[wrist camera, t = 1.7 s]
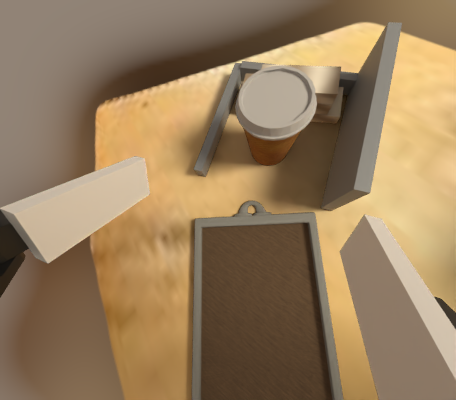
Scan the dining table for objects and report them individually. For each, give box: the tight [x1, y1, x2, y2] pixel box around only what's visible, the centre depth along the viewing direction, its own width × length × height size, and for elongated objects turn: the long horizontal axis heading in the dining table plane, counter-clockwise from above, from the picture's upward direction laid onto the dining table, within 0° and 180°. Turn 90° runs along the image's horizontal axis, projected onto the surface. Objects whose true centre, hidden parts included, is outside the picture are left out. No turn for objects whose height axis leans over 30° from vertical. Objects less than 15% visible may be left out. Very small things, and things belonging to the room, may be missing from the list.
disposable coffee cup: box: [236, 66, 317, 165], centre depth 26 cm, size 10×10×12 cm
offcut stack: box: [235, 64, 344, 124], centre depth 31 cm, size 18×6×6 cm, turn 77°
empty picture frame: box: [192, 201, 343, 400], centre depth 26 cm, size 19×2×30 cm
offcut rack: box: [194, 22, 402, 211], centre depth 27 cm, size 23×23×10 cm
